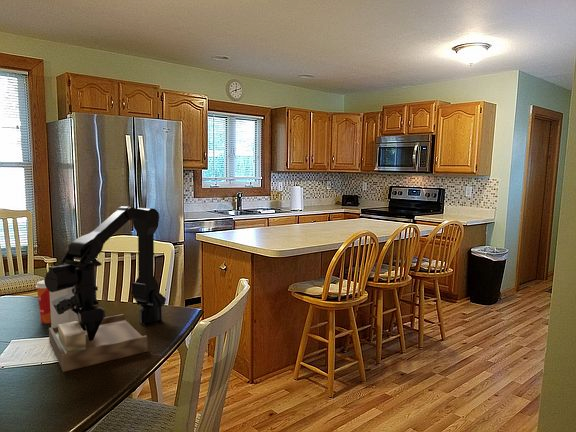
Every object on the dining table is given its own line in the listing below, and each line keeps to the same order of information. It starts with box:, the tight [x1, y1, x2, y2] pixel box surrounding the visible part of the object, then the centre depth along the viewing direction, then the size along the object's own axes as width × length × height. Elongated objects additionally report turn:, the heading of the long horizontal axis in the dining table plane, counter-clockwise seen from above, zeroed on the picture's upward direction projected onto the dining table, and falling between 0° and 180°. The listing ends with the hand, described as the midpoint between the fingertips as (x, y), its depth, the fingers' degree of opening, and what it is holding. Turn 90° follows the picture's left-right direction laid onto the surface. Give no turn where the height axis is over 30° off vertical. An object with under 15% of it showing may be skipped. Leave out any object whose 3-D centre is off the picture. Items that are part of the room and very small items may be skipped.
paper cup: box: [35, 279, 51, 324], centre depth 148 cm, size 8×8×14 cm
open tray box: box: [48, 313, 149, 373], centre depth 127 cm, size 22×24×4 cm
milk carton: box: [49, 286, 79, 328], centre depth 142 cm, size 7×7×19 cm
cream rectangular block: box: [58, 321, 86, 351], centre depth 123 cm, size 5×12×4 cm, turn 37°
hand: (87, 335), depth 125 cm, fingers open, 9 cm apart
